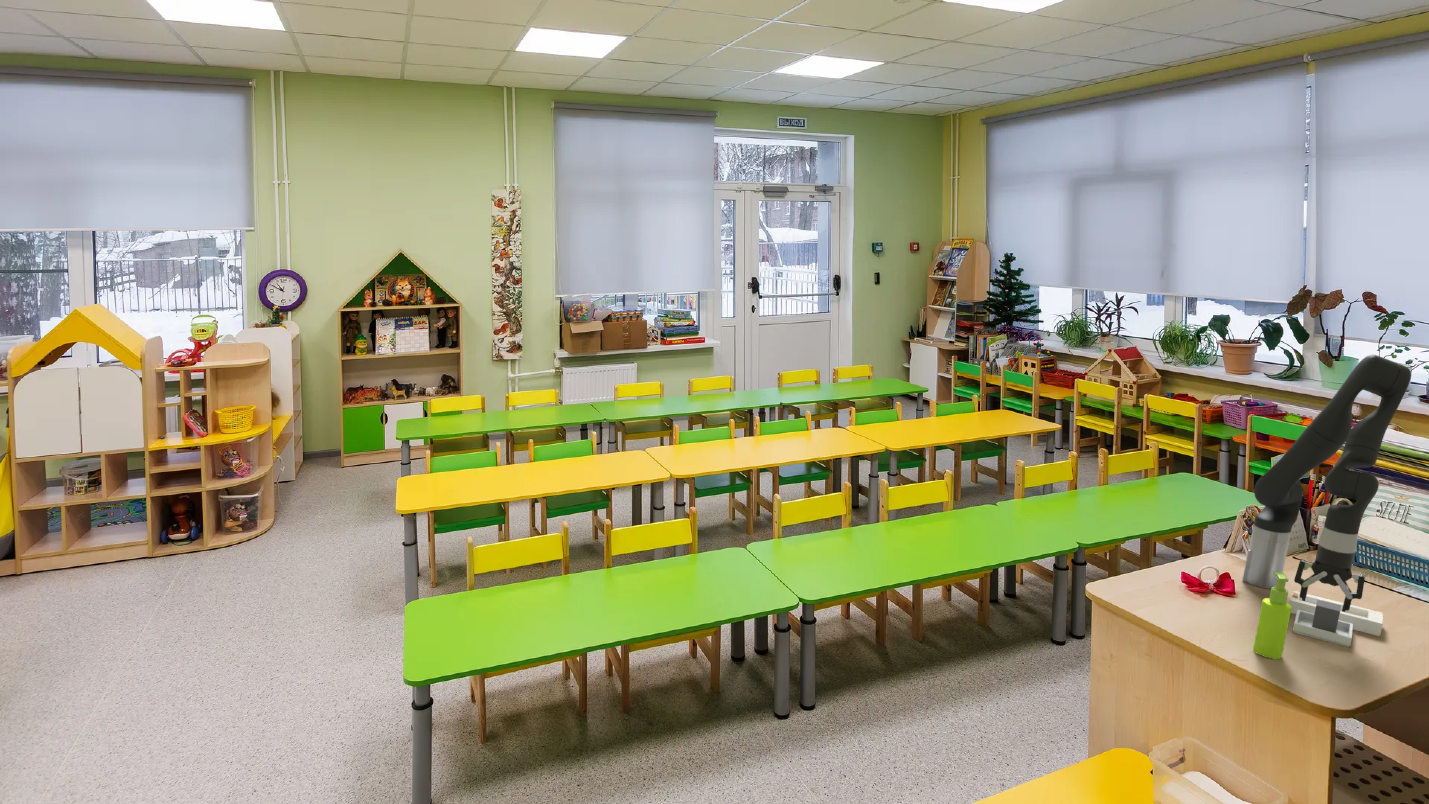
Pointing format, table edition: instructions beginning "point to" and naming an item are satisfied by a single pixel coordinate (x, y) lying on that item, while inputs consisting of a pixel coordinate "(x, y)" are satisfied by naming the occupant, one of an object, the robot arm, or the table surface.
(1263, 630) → the soap dispenser
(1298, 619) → the tray
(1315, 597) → the power strip
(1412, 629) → the table surface
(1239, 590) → the table surface
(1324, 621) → the block
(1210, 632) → the table surface
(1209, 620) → the table surface
